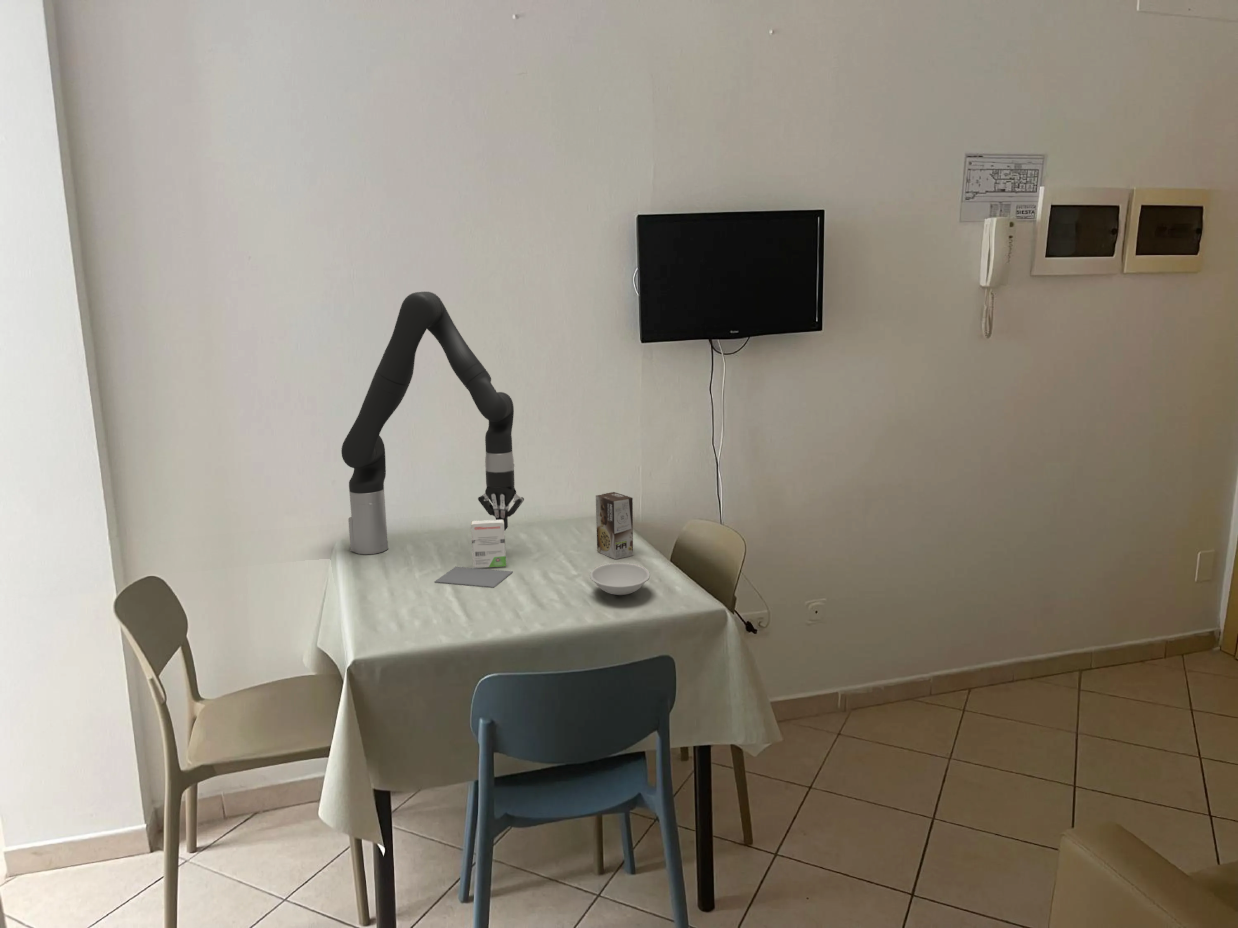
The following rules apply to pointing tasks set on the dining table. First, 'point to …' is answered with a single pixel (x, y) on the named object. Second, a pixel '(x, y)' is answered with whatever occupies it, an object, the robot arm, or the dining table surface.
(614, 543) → the coffee box
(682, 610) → the dining table surface
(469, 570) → the mat
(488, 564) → the ink box
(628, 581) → the dish
